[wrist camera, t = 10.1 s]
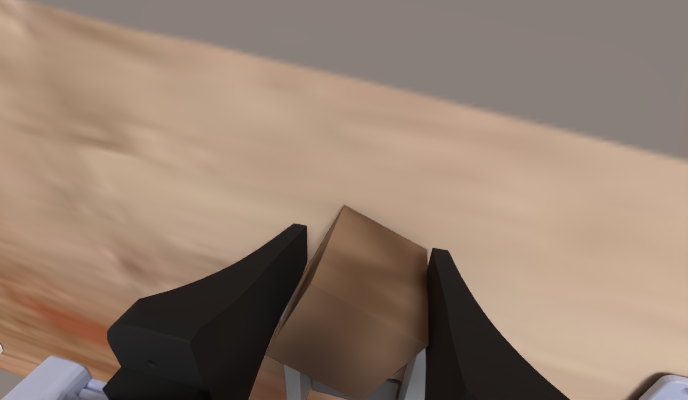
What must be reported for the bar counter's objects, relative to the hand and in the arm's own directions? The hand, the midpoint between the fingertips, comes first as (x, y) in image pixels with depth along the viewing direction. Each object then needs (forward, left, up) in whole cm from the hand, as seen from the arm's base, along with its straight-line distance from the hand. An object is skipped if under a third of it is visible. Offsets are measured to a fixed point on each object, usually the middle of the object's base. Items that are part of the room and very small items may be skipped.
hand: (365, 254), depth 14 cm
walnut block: (0, +2, -1) cm, 2 cm away
